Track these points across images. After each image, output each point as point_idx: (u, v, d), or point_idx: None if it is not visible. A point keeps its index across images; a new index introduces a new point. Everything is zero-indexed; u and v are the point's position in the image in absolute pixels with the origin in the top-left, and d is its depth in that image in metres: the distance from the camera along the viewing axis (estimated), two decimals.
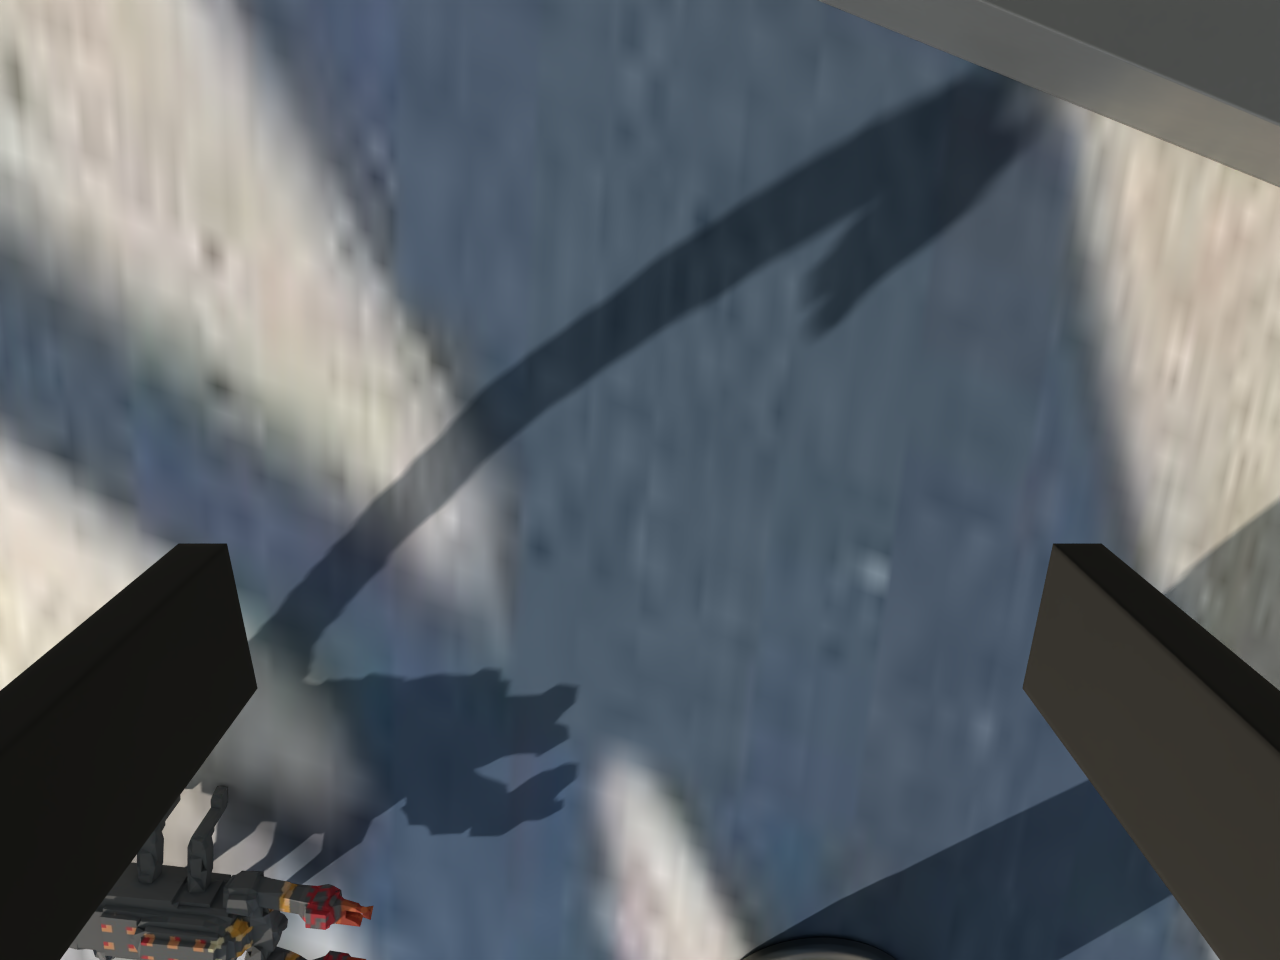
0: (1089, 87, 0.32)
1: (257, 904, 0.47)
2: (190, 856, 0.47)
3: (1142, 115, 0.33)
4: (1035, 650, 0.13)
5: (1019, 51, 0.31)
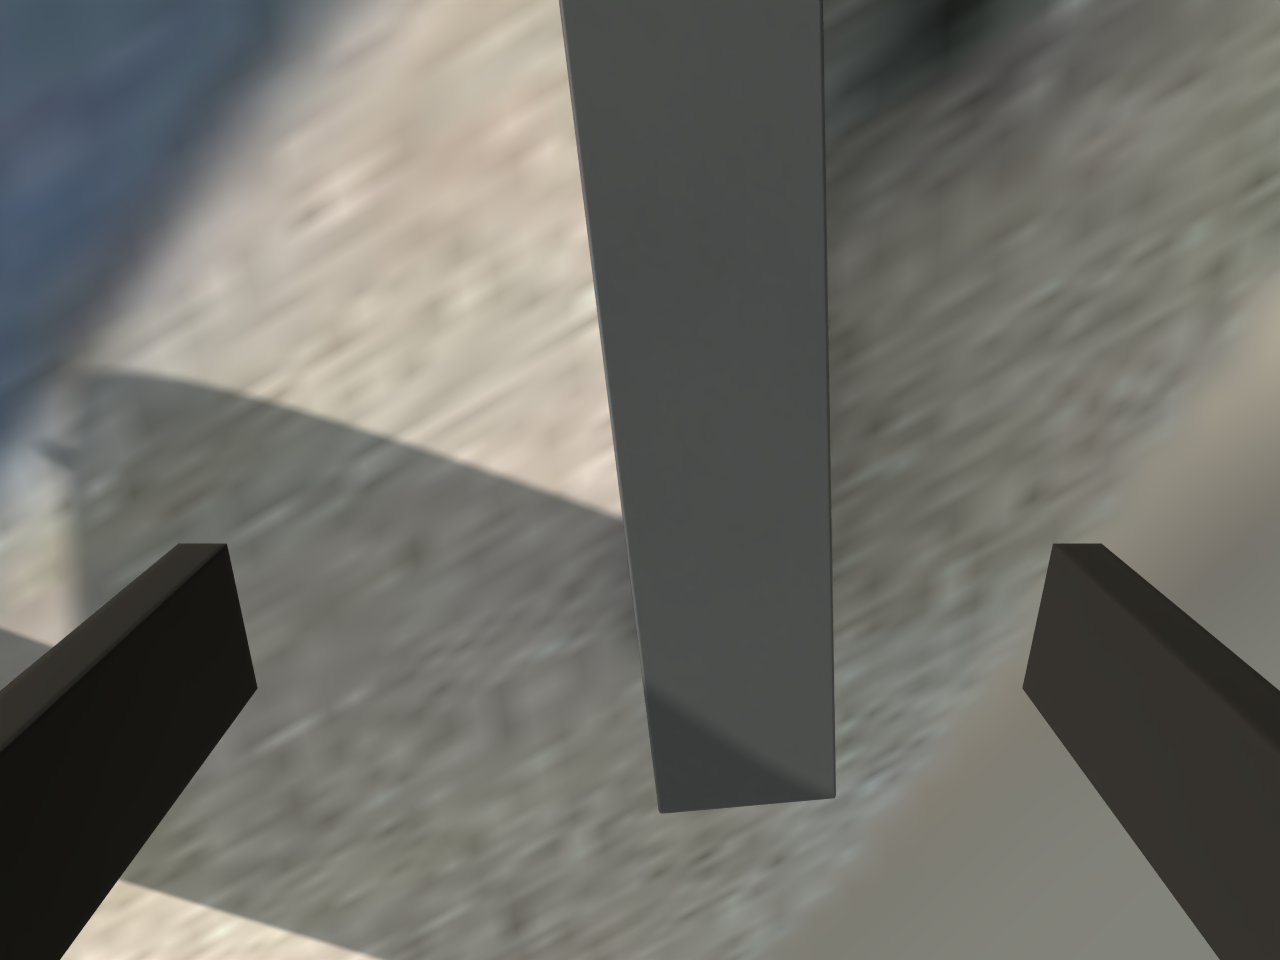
0: None
1: None
2: None
3: None
4: (1036, 650, 0.13)
5: None
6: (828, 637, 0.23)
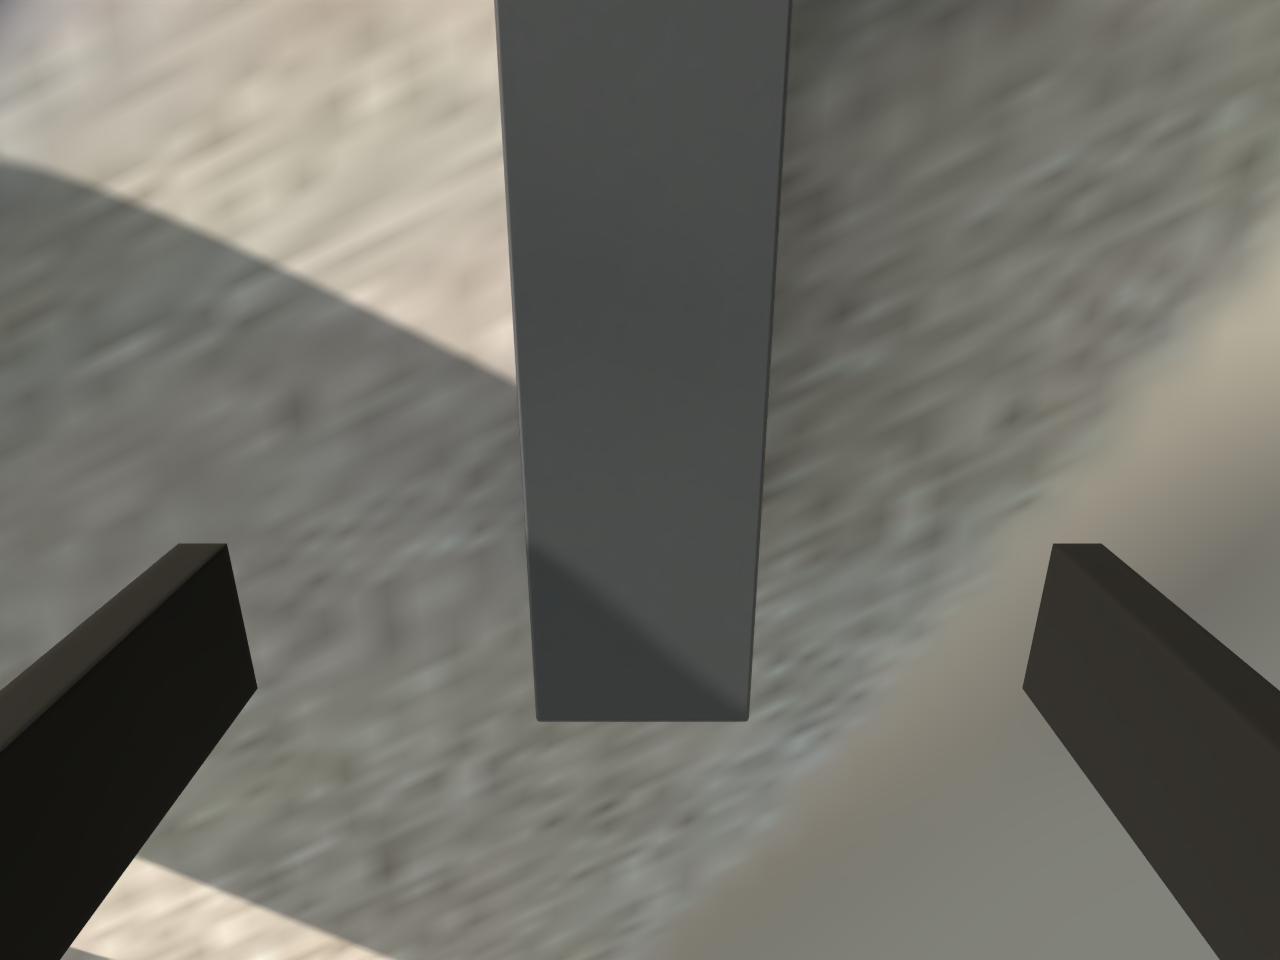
0: None
1: None
2: None
3: None
4: (1036, 650, 0.13)
5: None
6: (755, 515, 0.19)
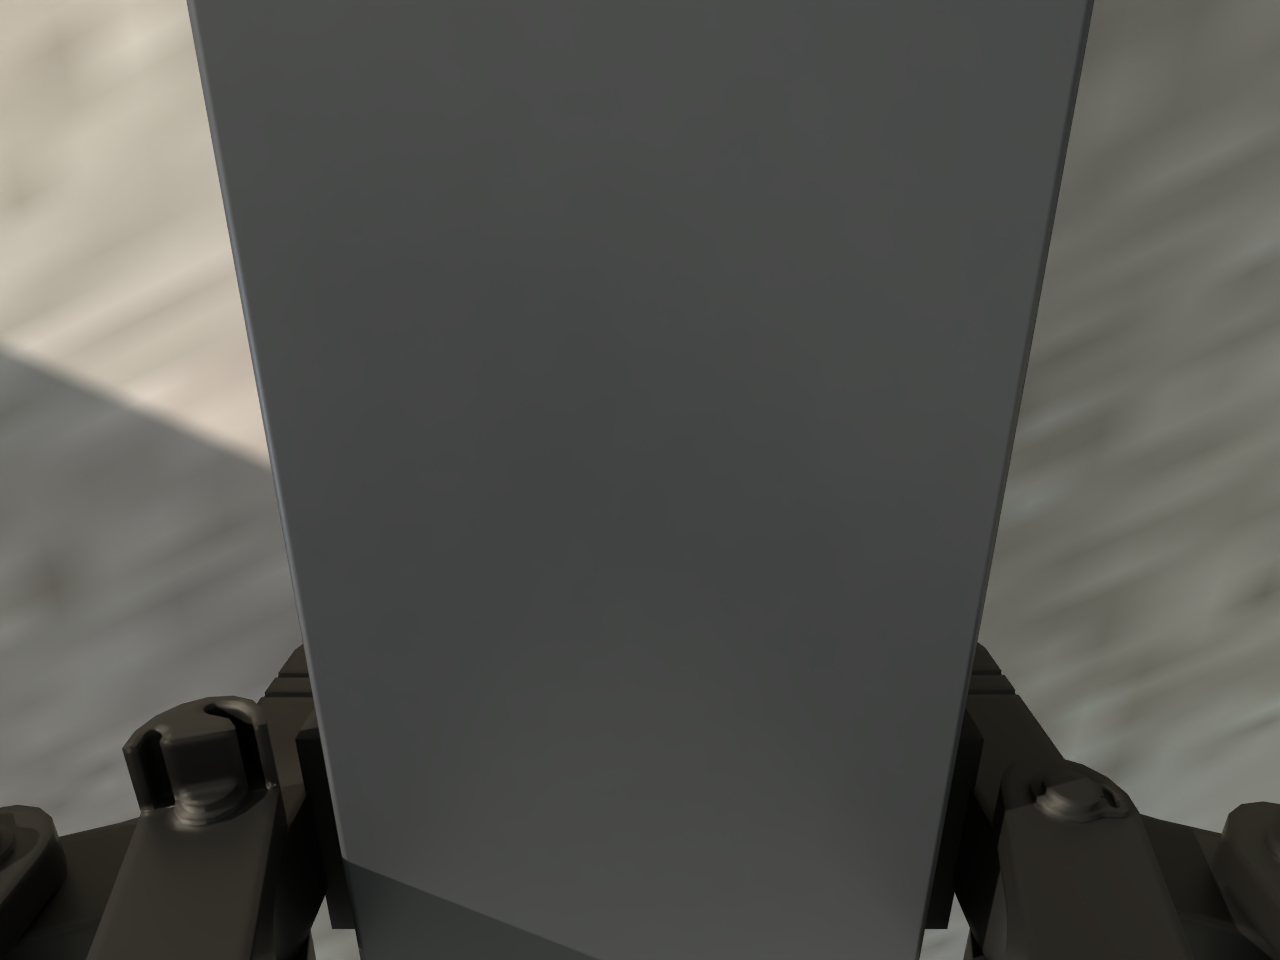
0: None
1: None
2: None
3: None
4: None
5: None
6: None
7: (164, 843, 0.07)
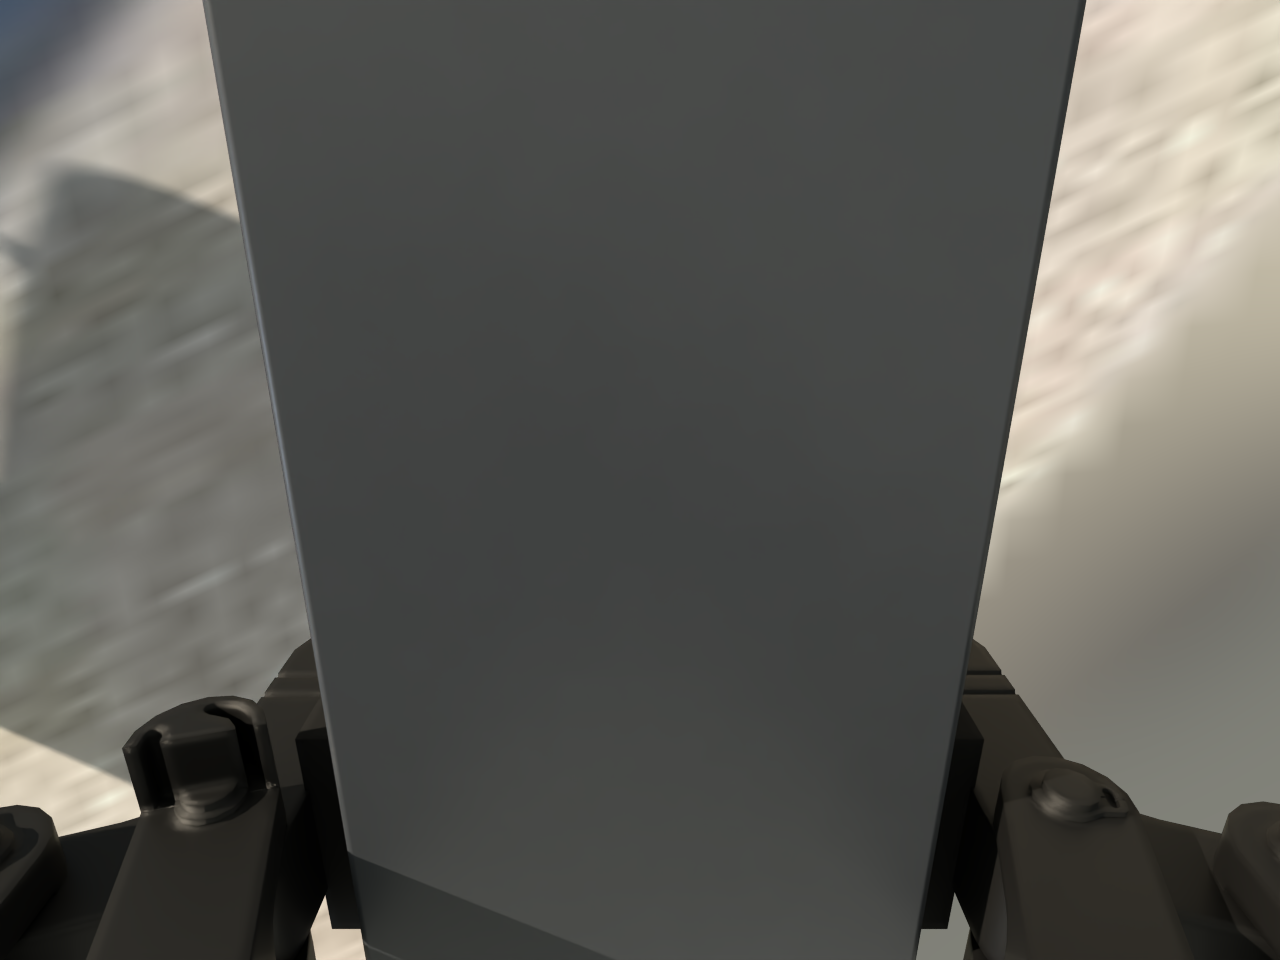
0: None
1: None
2: None
3: None
4: None
5: None
6: None
7: (164, 843, 0.07)
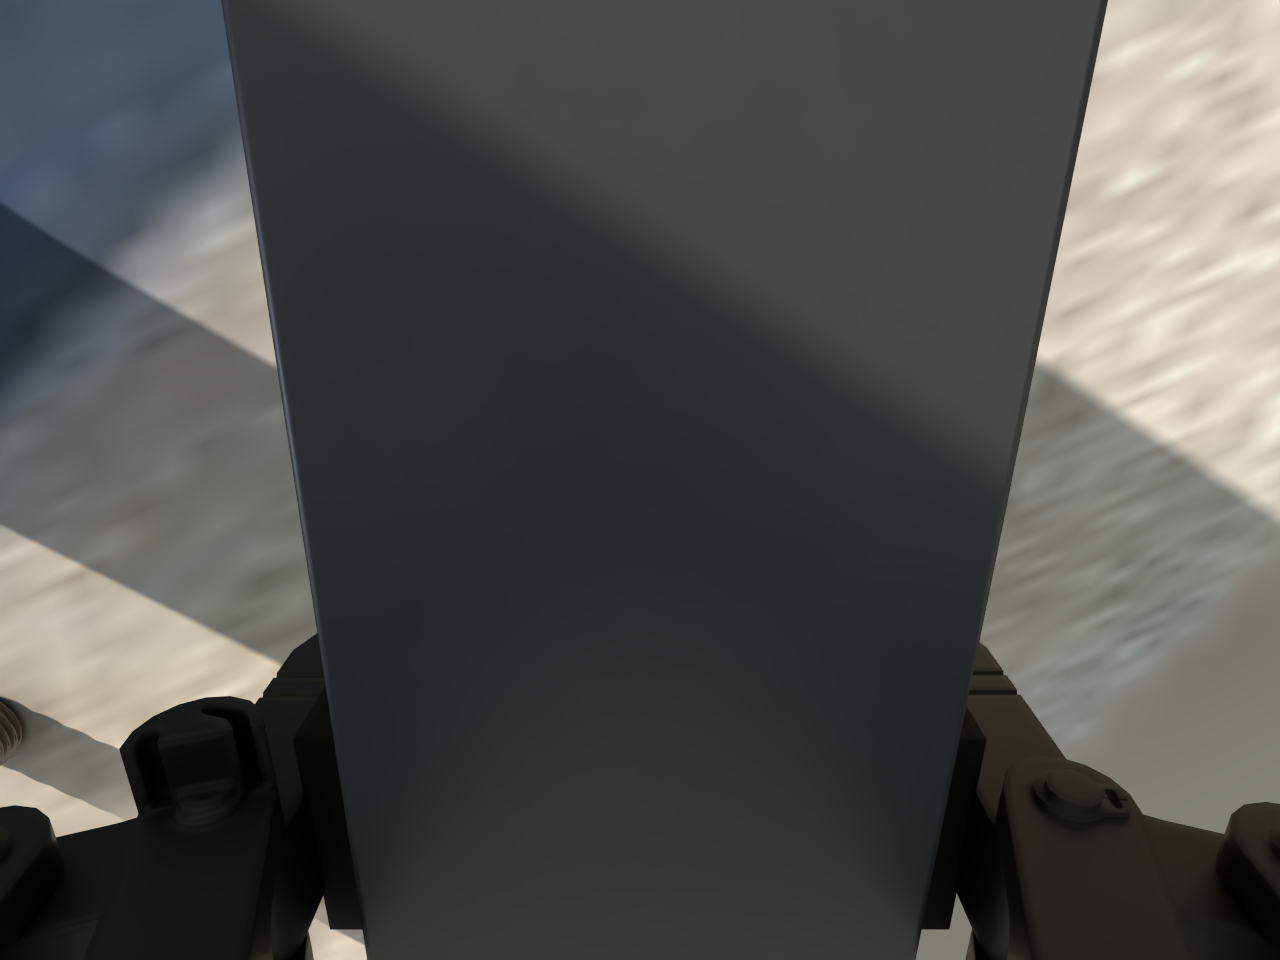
0: None
1: None
2: None
3: None
4: None
5: None
6: None
7: (162, 844, 0.07)
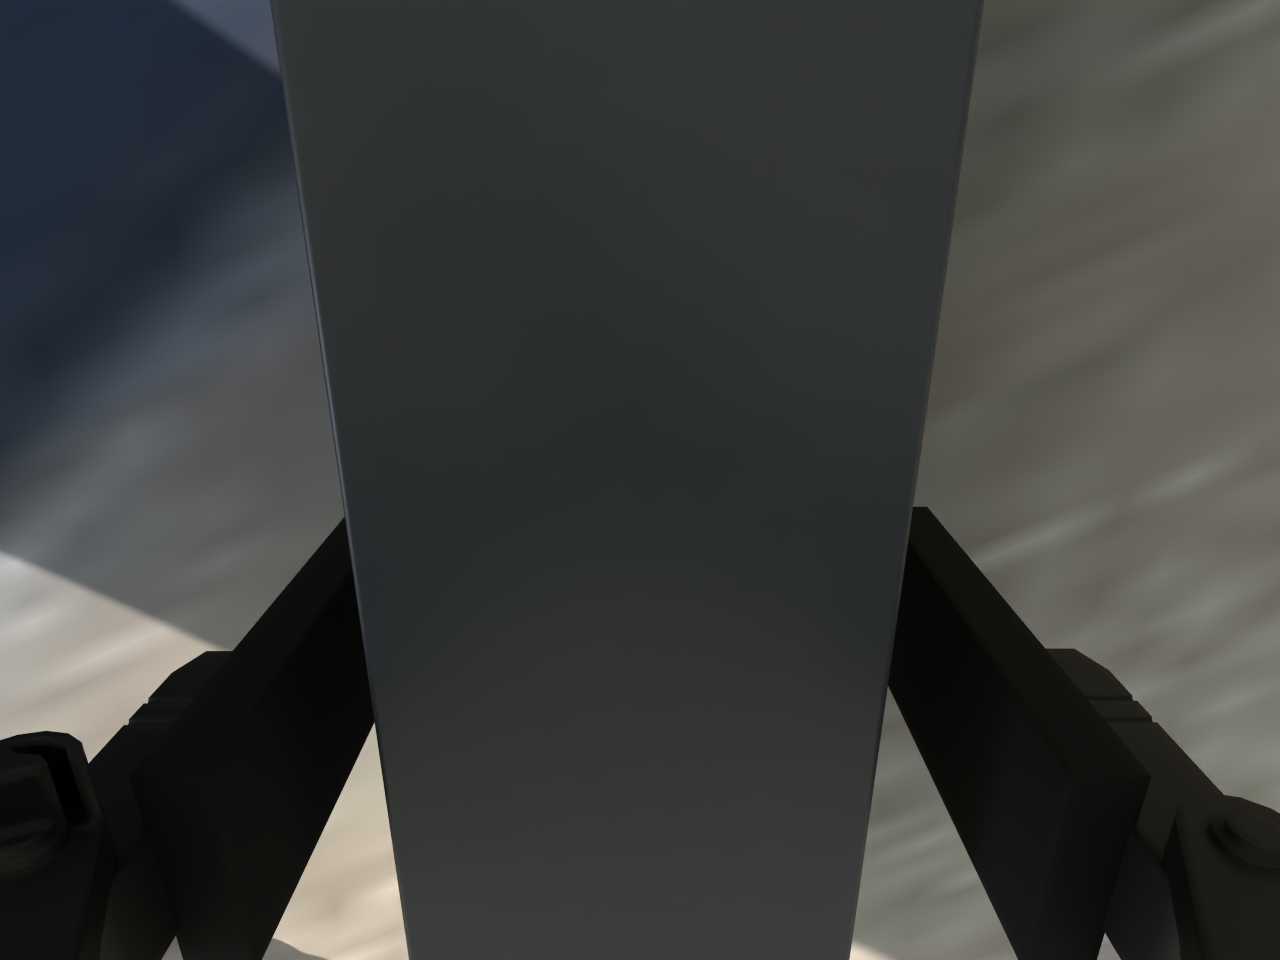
0: None
1: None
2: None
3: None
4: None
5: None
6: (855, 843, 0.09)
7: None
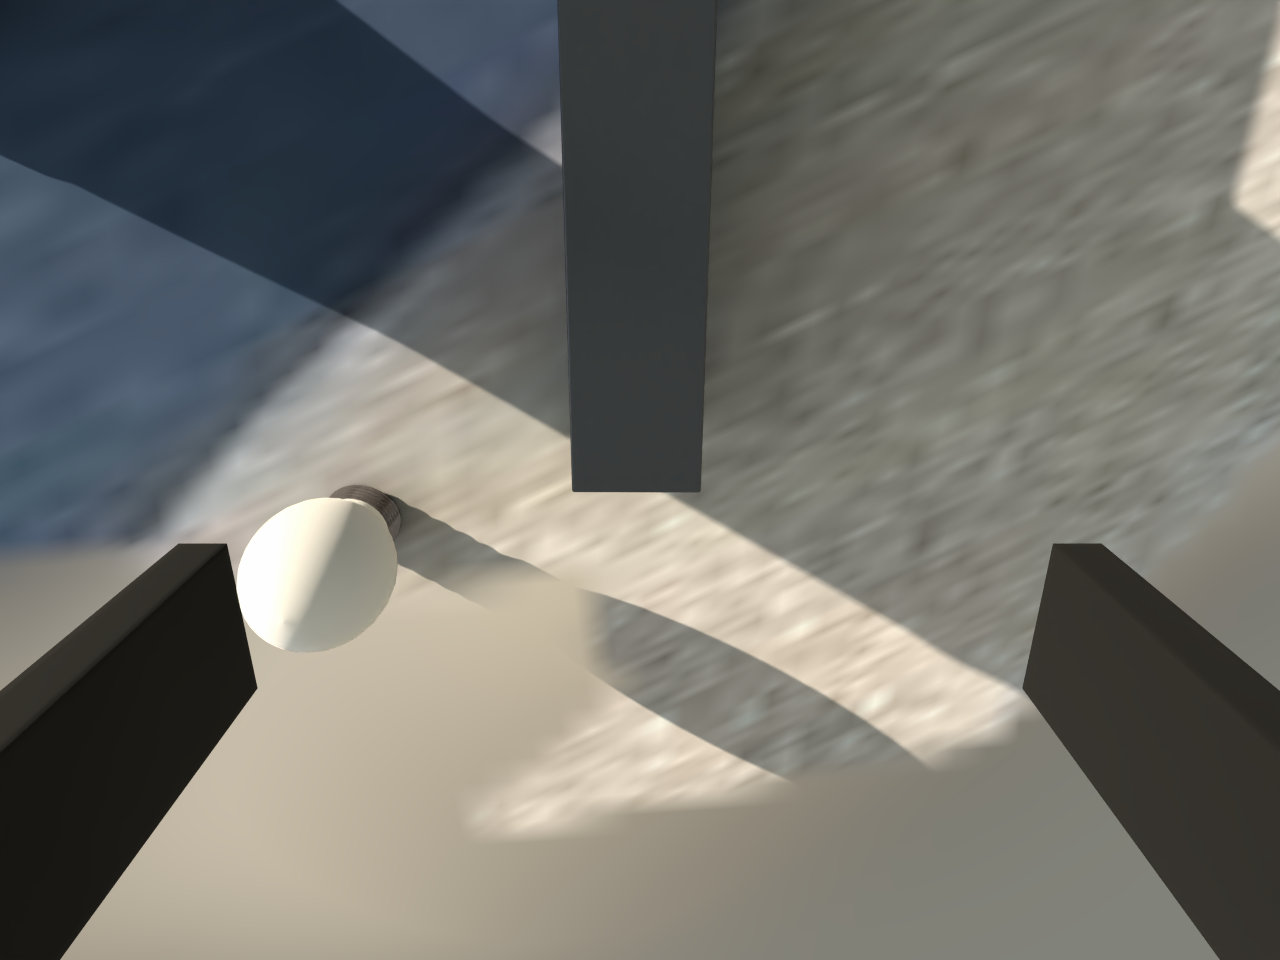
0: None
1: None
2: None
3: None
4: (1036, 650, 0.13)
5: None
6: (701, 357, 0.33)
7: None
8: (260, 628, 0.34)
